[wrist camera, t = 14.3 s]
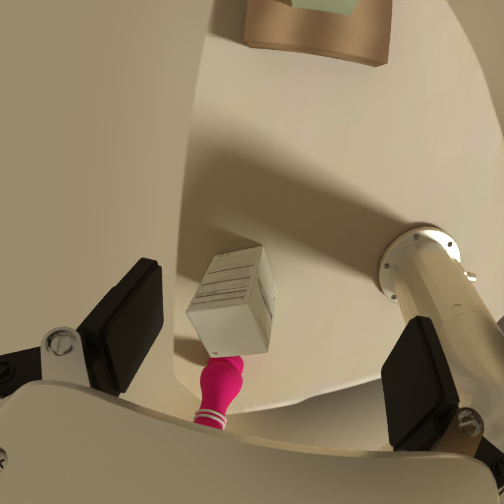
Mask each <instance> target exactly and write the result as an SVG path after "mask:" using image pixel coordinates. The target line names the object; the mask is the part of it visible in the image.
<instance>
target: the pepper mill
mask: <svg viewBox="0 0 504 504" xmlns="http://www.w3.org/2000/svg"><path fill="white" fill-rule="evenodd" d="M243 366H244V363H243V361H242V359H241V358H240V357H239V356H229V357H212V358H211V357H210V358H209V361H208V366H206V367H205V368H204V369H203V371H202V373H201V377H200V386H201V391H202V403H201V407H200V409H199V410H198V411H196V412H195V416H194V418H193V419H194V422H193V423H197V424H201V425H204V426H208V427H212V428H216V429H220V430H223V429H224V428H225V424H226V421H227V420H226V418H225V413H226V410H227V408H228V406H229V404H230V403H231V402H232V400H233V399H234V398H235V397H236V396H237V395H238V393H239V391H240V389H241V387H242V383H243V379H242V376H241V374H242V370H243Z"/></svg>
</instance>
